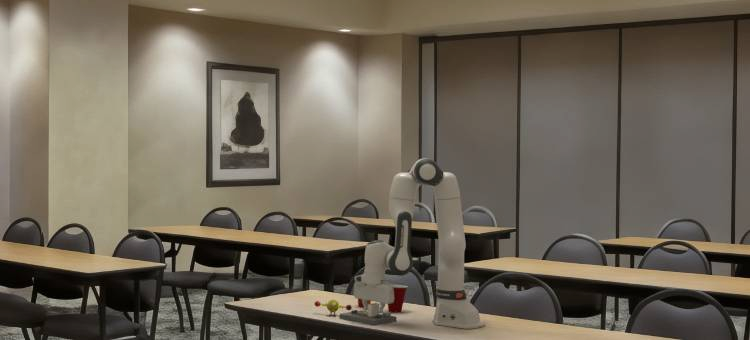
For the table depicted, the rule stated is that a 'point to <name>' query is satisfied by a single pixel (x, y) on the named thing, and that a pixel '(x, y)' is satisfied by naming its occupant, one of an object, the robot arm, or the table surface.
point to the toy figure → (332, 306)
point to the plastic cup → (397, 298)
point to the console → (368, 317)
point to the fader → (373, 309)
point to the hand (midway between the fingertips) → (373, 311)
